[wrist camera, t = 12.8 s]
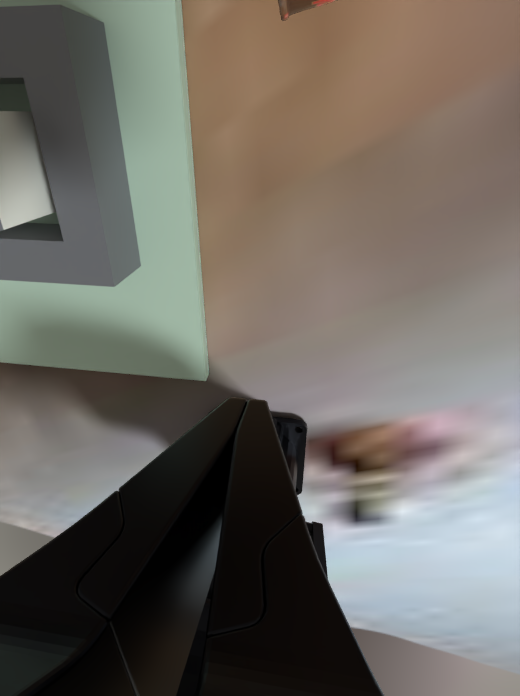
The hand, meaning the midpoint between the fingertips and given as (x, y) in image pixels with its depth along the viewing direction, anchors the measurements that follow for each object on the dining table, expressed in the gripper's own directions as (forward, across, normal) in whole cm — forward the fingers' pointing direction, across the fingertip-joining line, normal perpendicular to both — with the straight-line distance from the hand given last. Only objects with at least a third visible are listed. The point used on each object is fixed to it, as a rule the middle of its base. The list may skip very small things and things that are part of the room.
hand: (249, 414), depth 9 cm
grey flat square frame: (+12, +13, -4) cm, 18 cm away
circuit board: (+13, +12, -1) cm, 18 cm away
